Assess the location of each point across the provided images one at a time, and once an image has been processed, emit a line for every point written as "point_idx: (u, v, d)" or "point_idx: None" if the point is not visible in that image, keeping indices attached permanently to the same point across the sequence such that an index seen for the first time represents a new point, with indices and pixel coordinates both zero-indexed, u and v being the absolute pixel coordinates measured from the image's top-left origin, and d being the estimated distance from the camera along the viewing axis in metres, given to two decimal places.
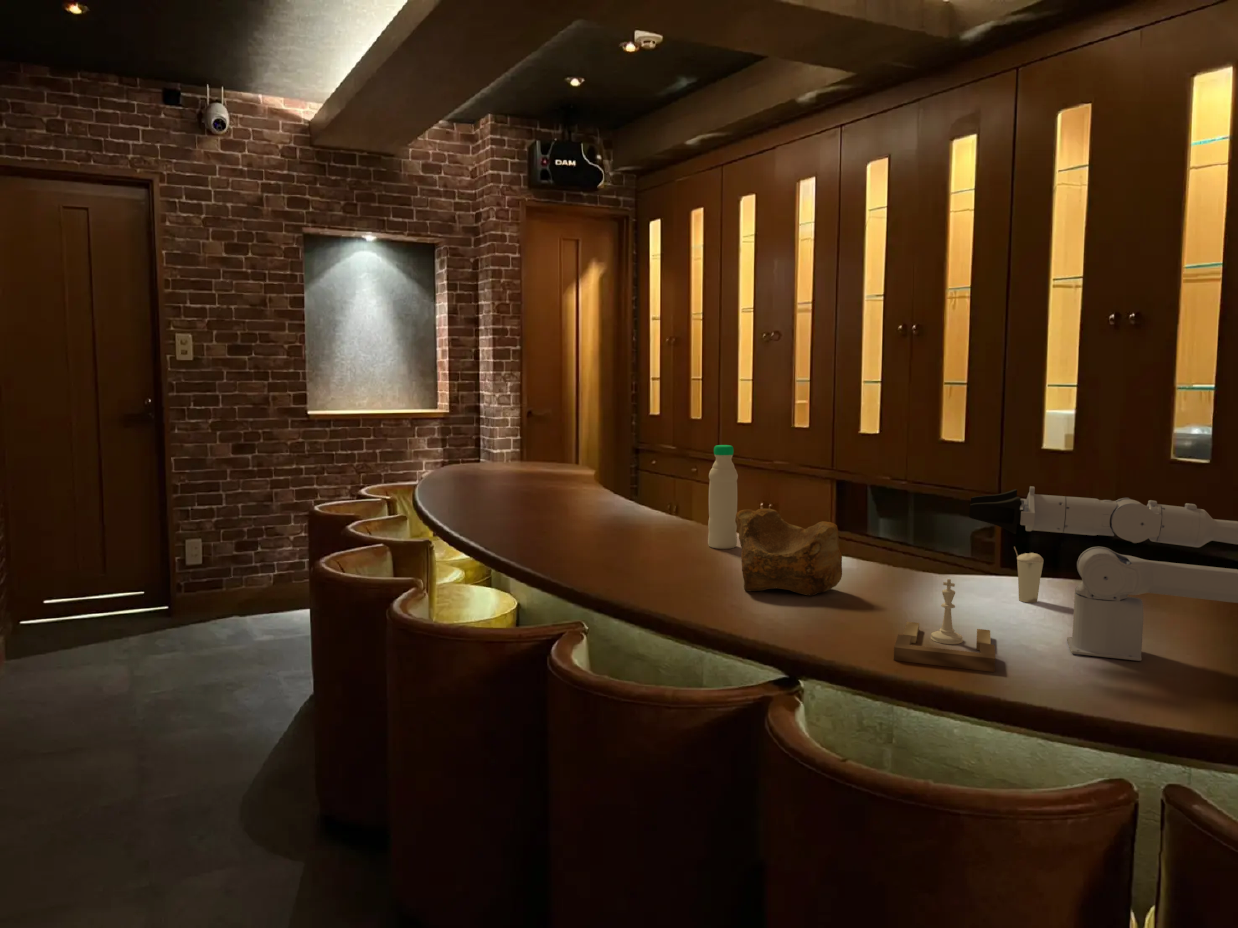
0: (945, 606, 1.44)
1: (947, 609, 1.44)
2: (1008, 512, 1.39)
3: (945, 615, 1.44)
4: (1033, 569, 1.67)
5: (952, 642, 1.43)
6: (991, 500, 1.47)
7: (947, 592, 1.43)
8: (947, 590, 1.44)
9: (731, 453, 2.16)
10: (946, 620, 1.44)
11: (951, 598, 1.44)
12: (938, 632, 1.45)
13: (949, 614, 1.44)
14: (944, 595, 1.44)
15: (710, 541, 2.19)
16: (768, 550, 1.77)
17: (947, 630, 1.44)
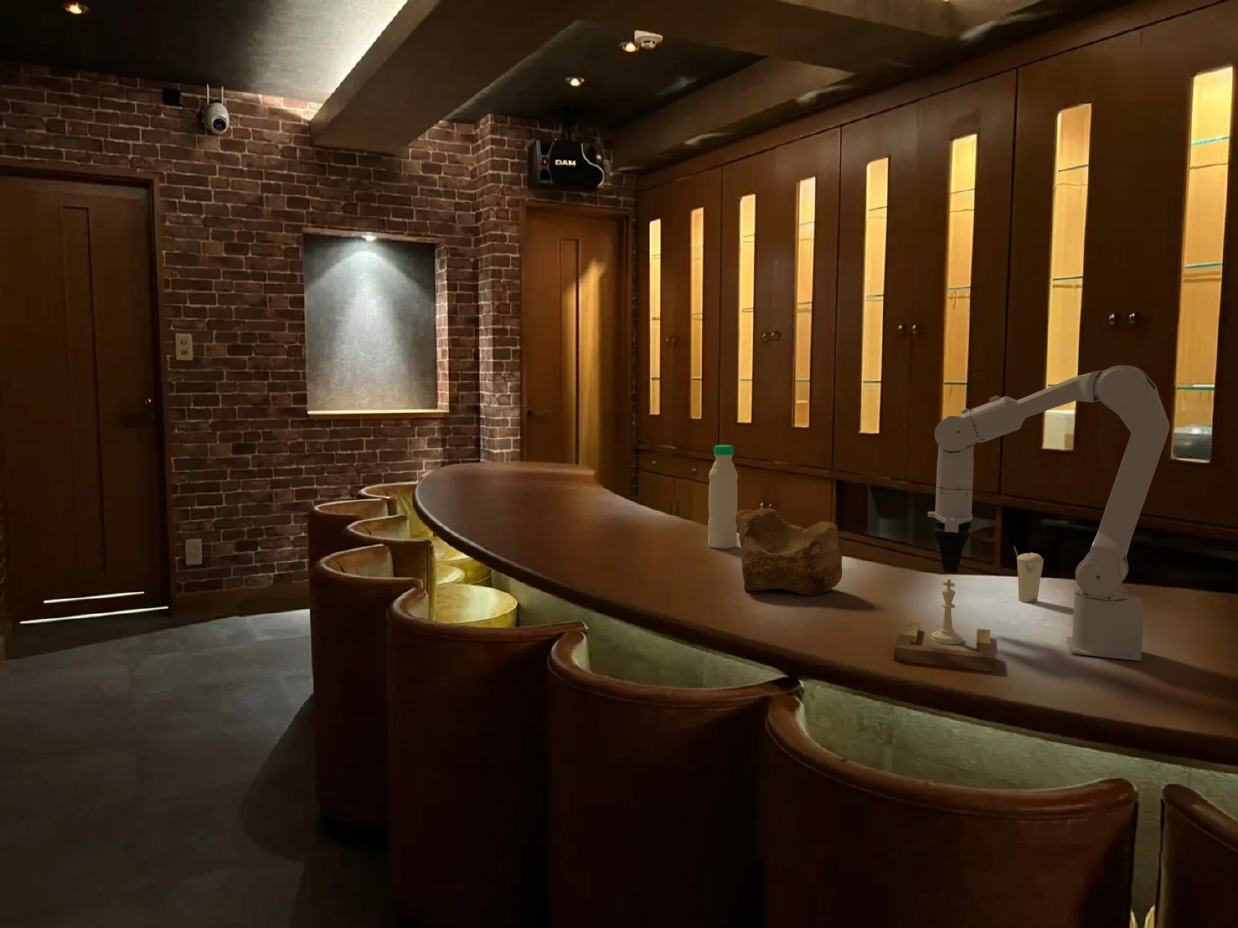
0: (945, 606, 1.44)
1: (947, 609, 1.44)
2: (949, 538, 1.47)
3: (945, 615, 1.44)
4: (1033, 569, 1.67)
5: (952, 642, 1.43)
6: None
7: (947, 592, 1.43)
8: (947, 590, 1.44)
9: (731, 453, 2.16)
10: (946, 620, 1.44)
11: (951, 598, 1.44)
12: (938, 632, 1.45)
13: (949, 614, 1.44)
14: (944, 595, 1.44)
15: (710, 541, 2.19)
16: (768, 550, 1.77)
17: (947, 630, 1.44)
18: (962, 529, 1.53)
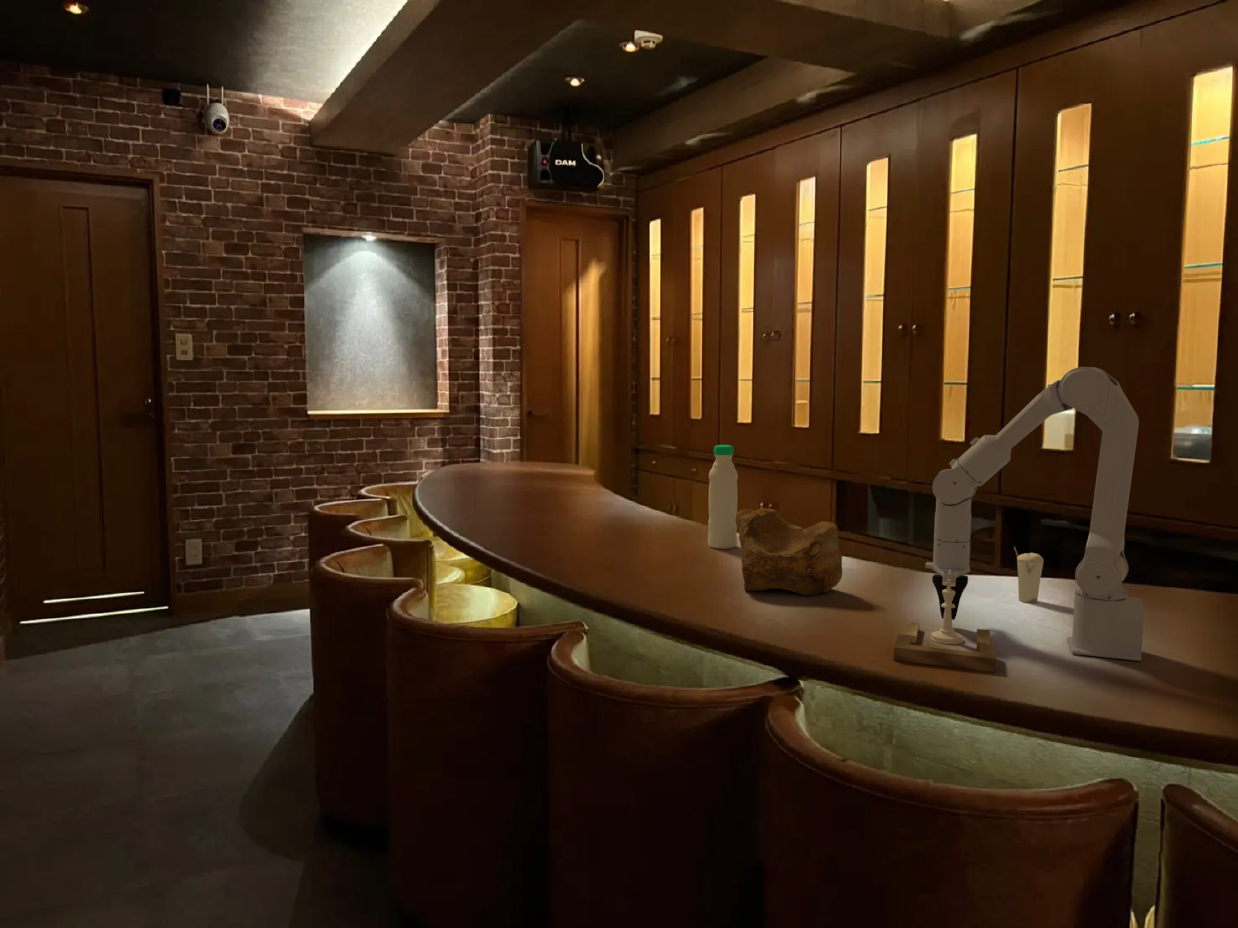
0: (945, 606, 1.44)
1: (947, 609, 1.44)
2: None
3: (945, 615, 1.44)
4: (1033, 569, 1.67)
5: (952, 642, 1.43)
6: None
7: (947, 592, 1.43)
8: (947, 590, 1.44)
9: (731, 453, 2.16)
10: (946, 620, 1.44)
11: (951, 598, 1.44)
12: (938, 632, 1.45)
13: (949, 614, 1.44)
14: (944, 595, 1.44)
15: (710, 541, 2.19)
16: (768, 550, 1.77)
17: (947, 630, 1.44)
18: None
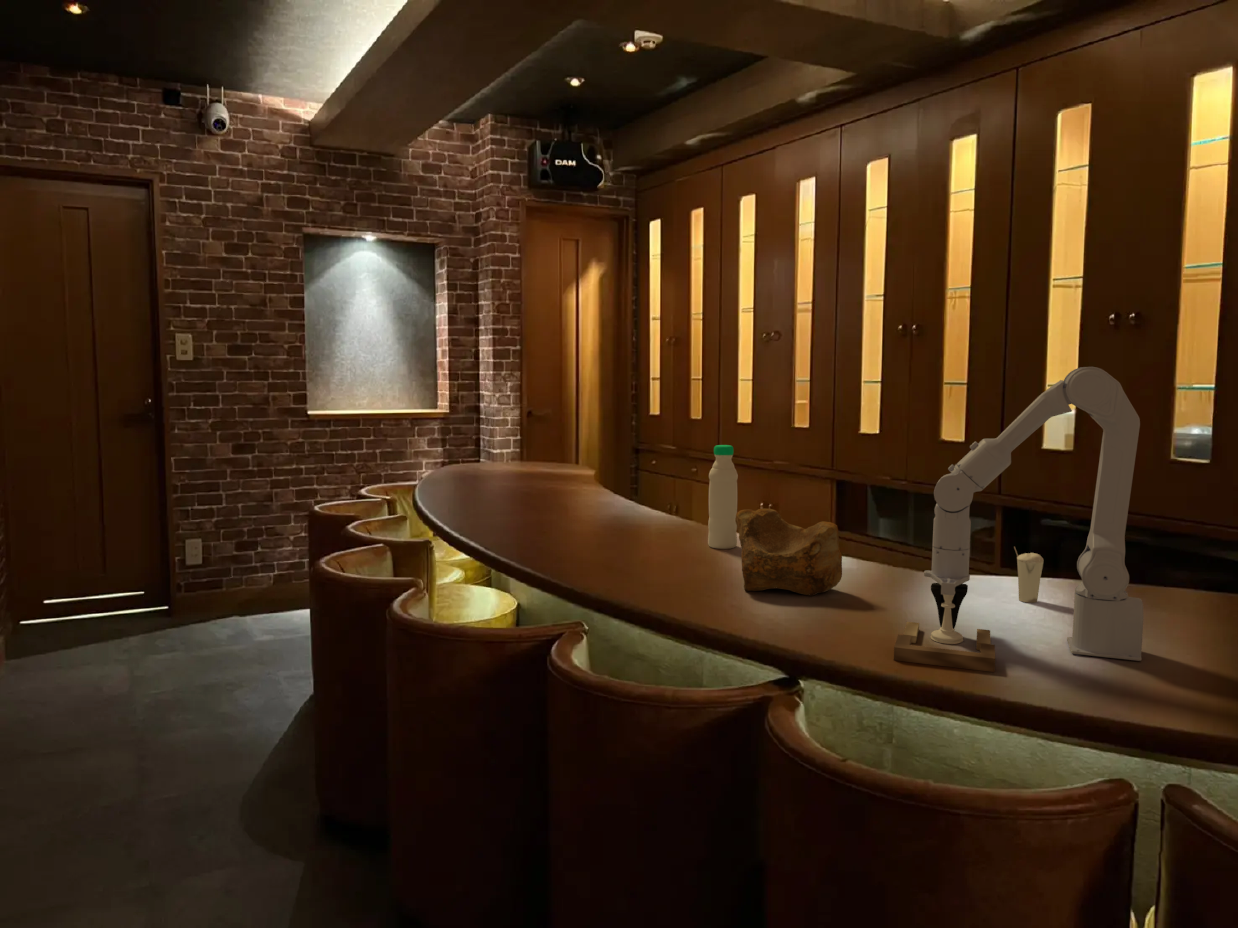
0: (945, 606, 1.44)
1: (947, 609, 1.44)
2: None
3: (945, 615, 1.44)
4: (1033, 569, 1.67)
5: (952, 642, 1.43)
6: None
7: None
8: None
9: (731, 453, 2.16)
10: (946, 620, 1.44)
11: (951, 598, 1.43)
12: (938, 631, 1.45)
13: (949, 614, 1.44)
14: (944, 595, 1.44)
15: (710, 541, 2.19)
16: (768, 550, 1.77)
17: (947, 630, 1.44)
18: None
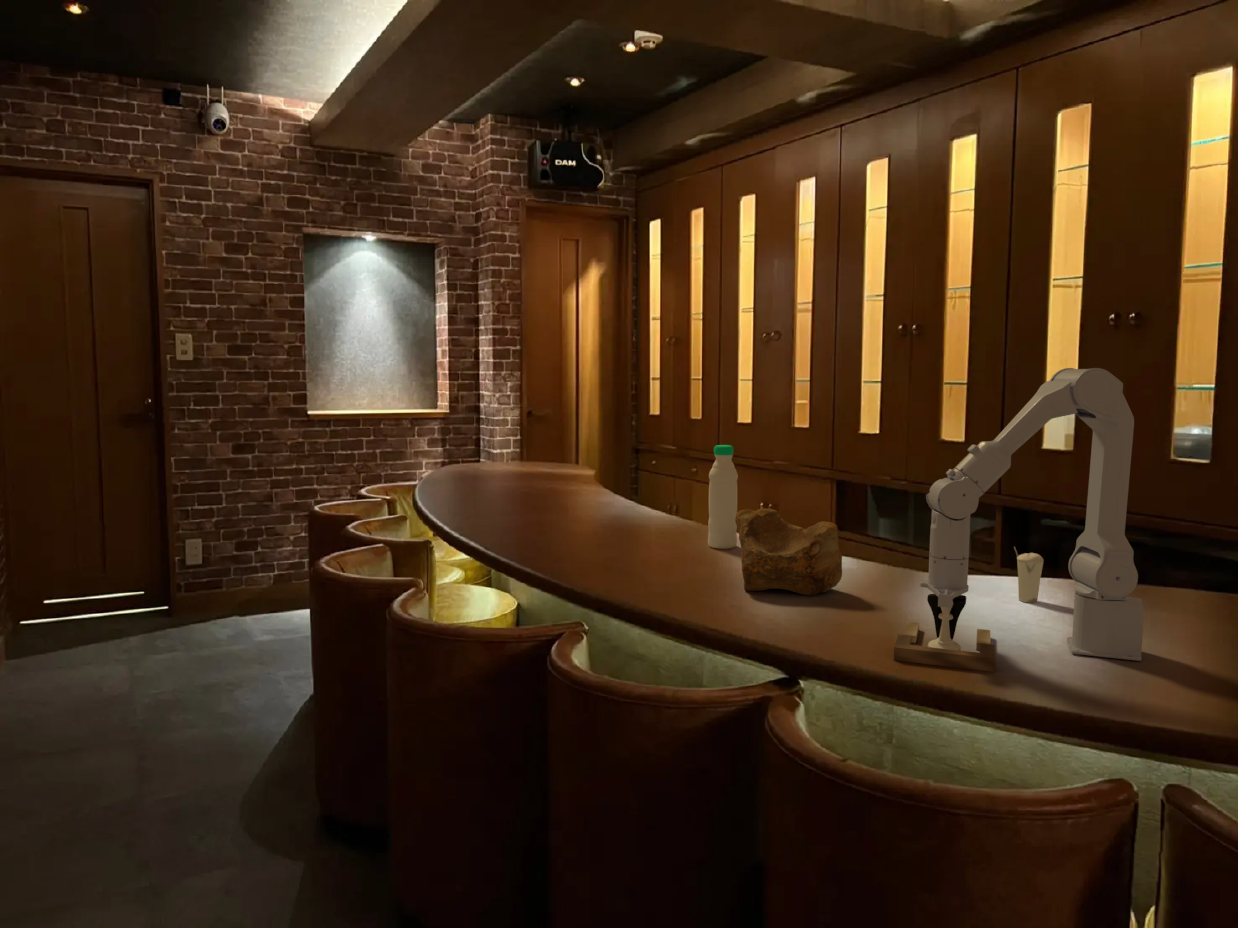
0: (943, 618, 1.36)
1: (945, 620, 1.37)
2: None
3: (943, 626, 1.37)
4: (1033, 569, 1.67)
5: None
6: None
7: None
8: None
9: (731, 453, 2.16)
10: (943, 632, 1.37)
11: (949, 609, 1.36)
12: (935, 643, 1.38)
13: (947, 625, 1.37)
14: None
15: (710, 541, 2.19)
16: (768, 550, 1.77)
17: (945, 642, 1.37)
18: None
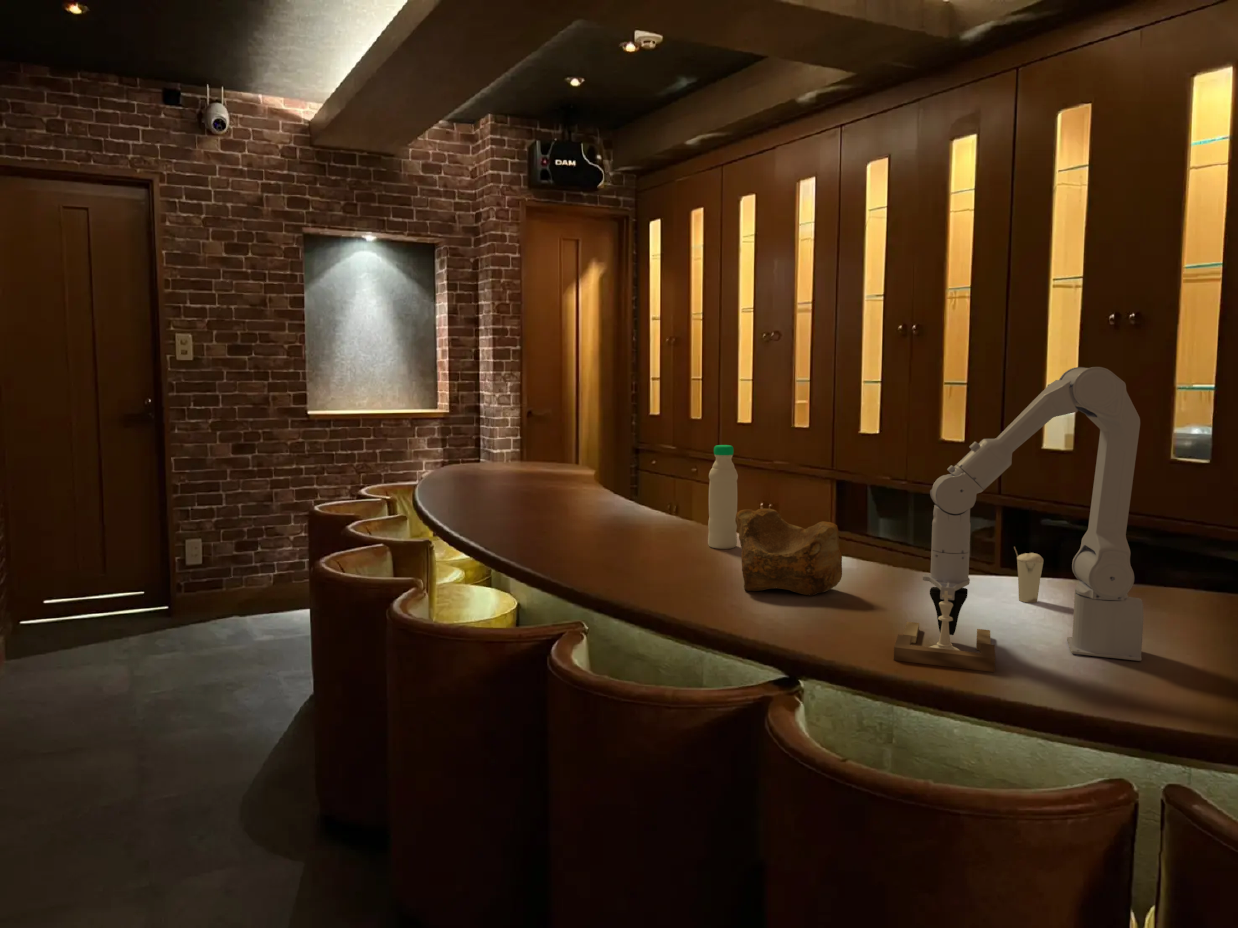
0: (942, 619, 1.36)
1: (944, 622, 1.37)
2: None
3: (942, 628, 1.37)
4: (1033, 569, 1.67)
5: None
6: None
7: (944, 604, 1.36)
8: (944, 602, 1.36)
9: (731, 453, 2.16)
10: (943, 634, 1.37)
11: (949, 611, 1.36)
12: (935, 646, 1.38)
13: (947, 628, 1.37)
14: (941, 607, 1.36)
15: (710, 541, 2.19)
16: (768, 550, 1.77)
17: (945, 644, 1.36)
18: None
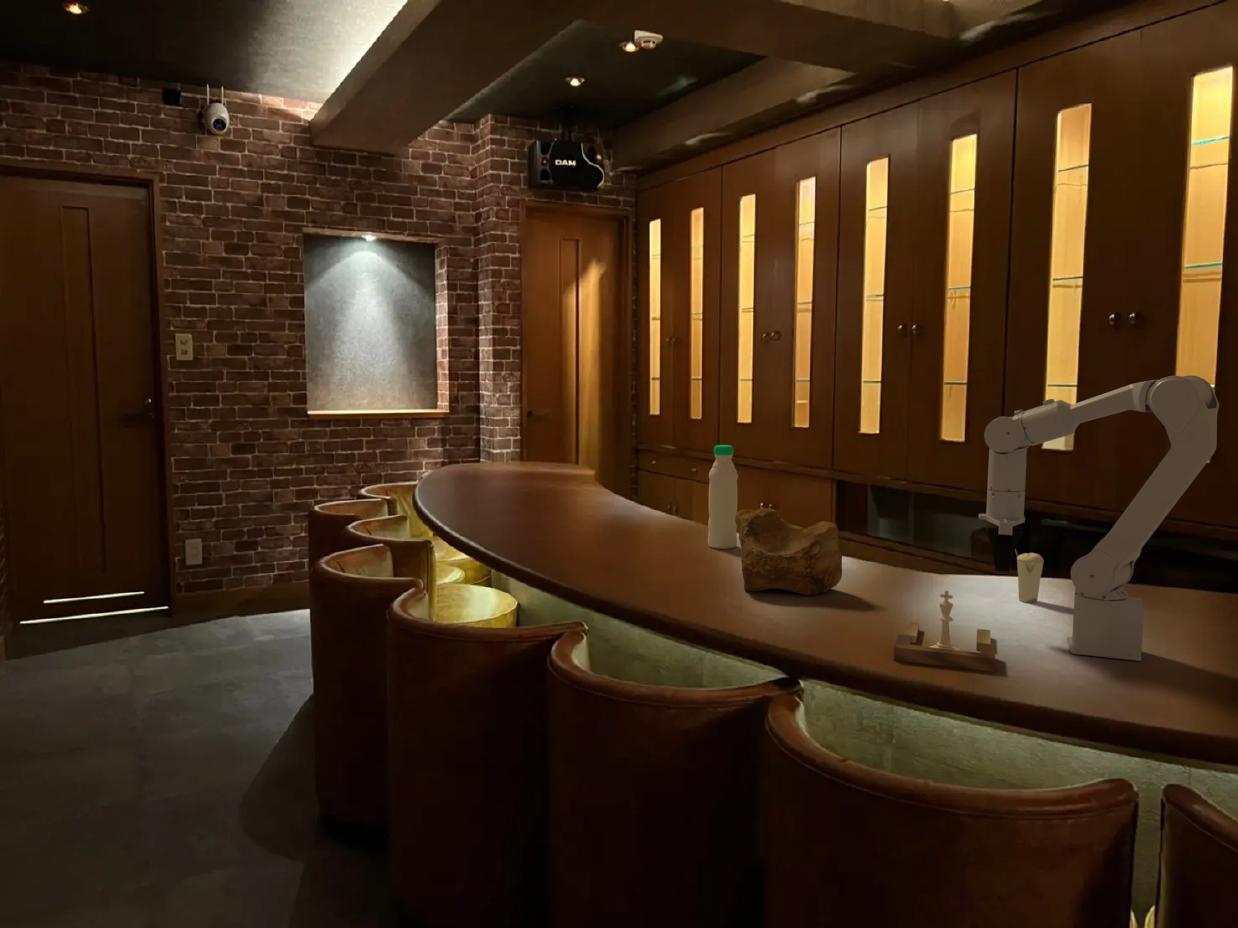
0: (942, 619, 1.36)
1: (945, 622, 1.37)
2: (1001, 537, 1.48)
3: (942, 629, 1.37)
4: (1033, 569, 1.67)
5: None
6: None
7: (945, 604, 1.36)
8: (944, 602, 1.36)
9: (731, 453, 2.16)
10: (943, 634, 1.37)
11: (949, 611, 1.36)
12: (935, 646, 1.38)
13: (947, 628, 1.36)
14: (941, 608, 1.36)
15: (710, 541, 2.19)
16: (768, 550, 1.77)
17: (945, 644, 1.36)
18: None
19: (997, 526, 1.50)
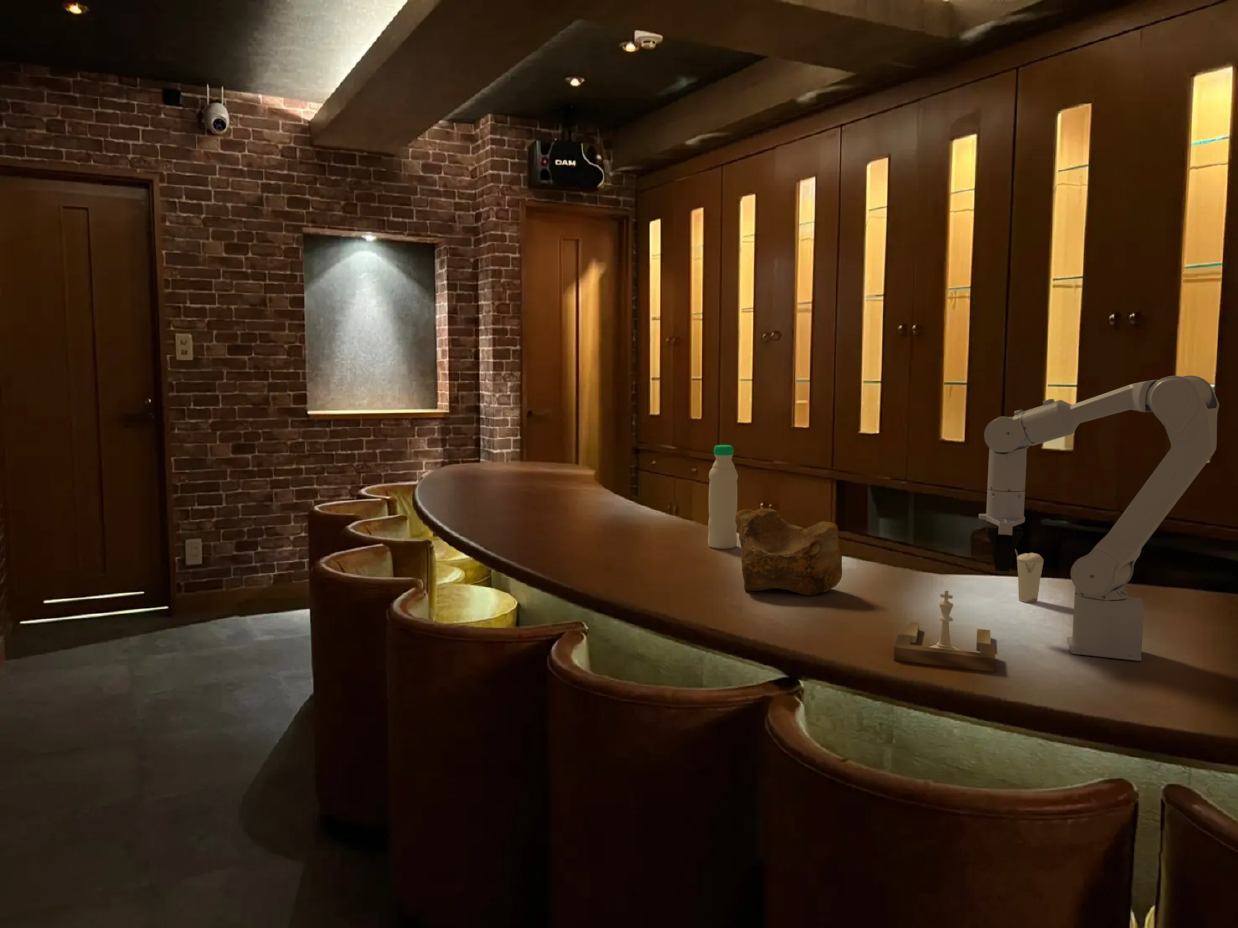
0: (942, 619, 1.36)
1: (945, 622, 1.37)
2: (1001, 537, 1.48)
3: (942, 629, 1.37)
4: (1033, 569, 1.67)
5: None
6: None
7: (945, 604, 1.36)
8: (944, 602, 1.36)
9: (731, 453, 2.16)
10: (943, 634, 1.37)
11: (949, 611, 1.36)
12: (935, 646, 1.38)
13: (947, 628, 1.37)
14: (941, 608, 1.36)
15: (710, 541, 2.19)
16: (768, 550, 1.77)
17: (945, 644, 1.36)
18: None
19: (997, 526, 1.50)
